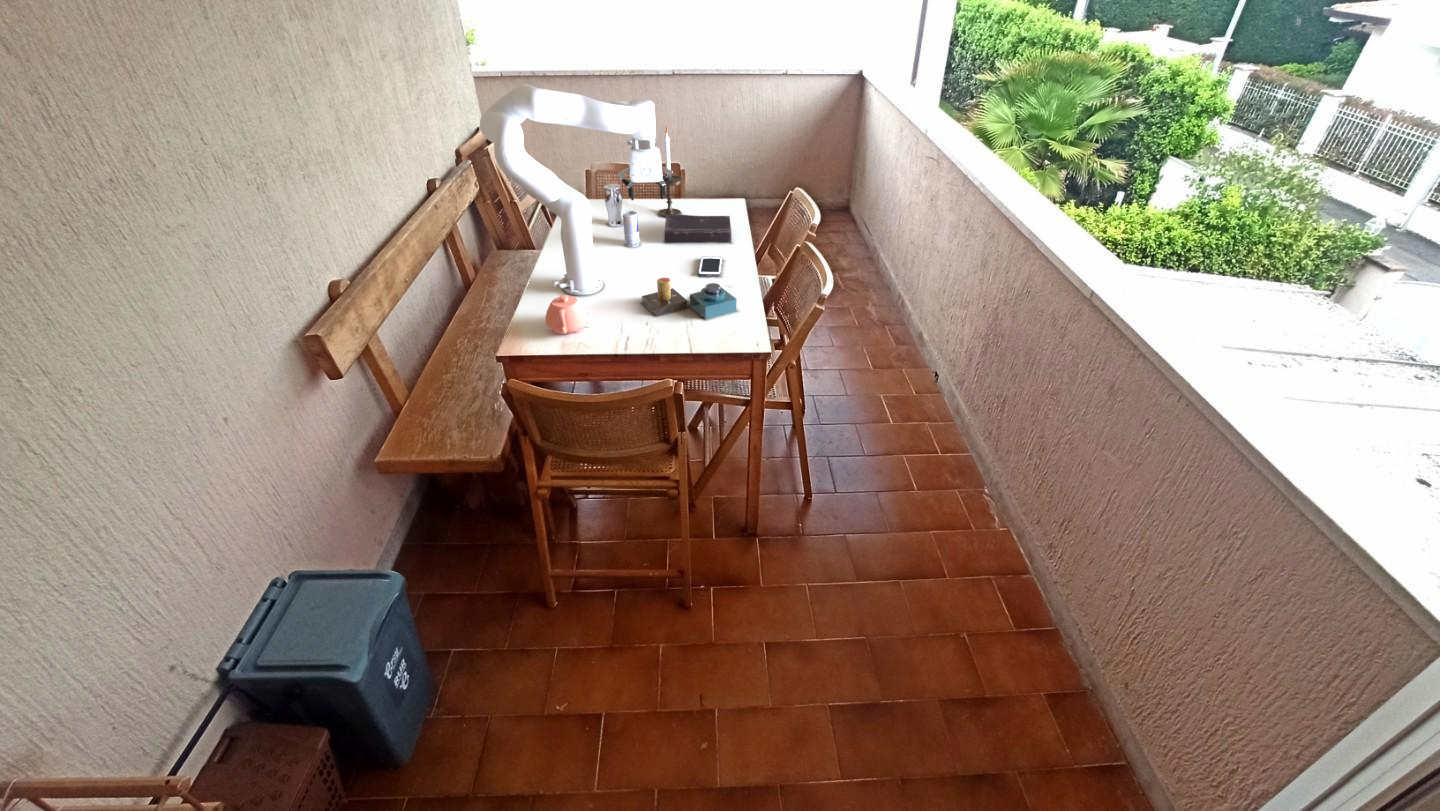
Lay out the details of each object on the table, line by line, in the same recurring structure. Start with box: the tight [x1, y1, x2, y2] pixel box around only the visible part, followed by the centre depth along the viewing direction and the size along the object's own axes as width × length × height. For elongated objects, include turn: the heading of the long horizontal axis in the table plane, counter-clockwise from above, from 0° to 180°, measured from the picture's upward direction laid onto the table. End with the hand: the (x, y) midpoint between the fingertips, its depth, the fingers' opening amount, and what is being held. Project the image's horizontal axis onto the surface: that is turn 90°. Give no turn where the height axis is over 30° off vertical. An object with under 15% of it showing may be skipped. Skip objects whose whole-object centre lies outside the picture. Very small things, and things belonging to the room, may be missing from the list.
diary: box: [663, 214, 732, 244], centre depth 248 cm, size 19×25×5 cm
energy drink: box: [622, 210, 641, 248], centre depth 238 cm, size 5×5×12 cm
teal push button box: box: [689, 286, 737, 320], centre depth 199 cm, size 11×10×6 cm
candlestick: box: [654, 124, 683, 219], centre depth 257 cm, size 11×11×35 cm
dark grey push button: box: [705, 282, 721, 295], centre depth 196 cm, size 4×4×2 cm
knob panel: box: [641, 288, 689, 317], centre depth 201 cm, size 11×10×3 cm
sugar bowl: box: [545, 294, 589, 335], centre depth 187 cm, size 12×14×10 cm
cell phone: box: [698, 256, 724, 277], centre depth 224 cm, size 8×15×1 cm, turn 177°
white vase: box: [603, 183, 624, 228], centre depth 254 cm, size 7×7×15 cm
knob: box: [656, 277, 672, 301], centre depth 199 cm, size 4×4×6 cm
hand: (647, 198), depth 210 cm, fingers open, 9 cm apart
